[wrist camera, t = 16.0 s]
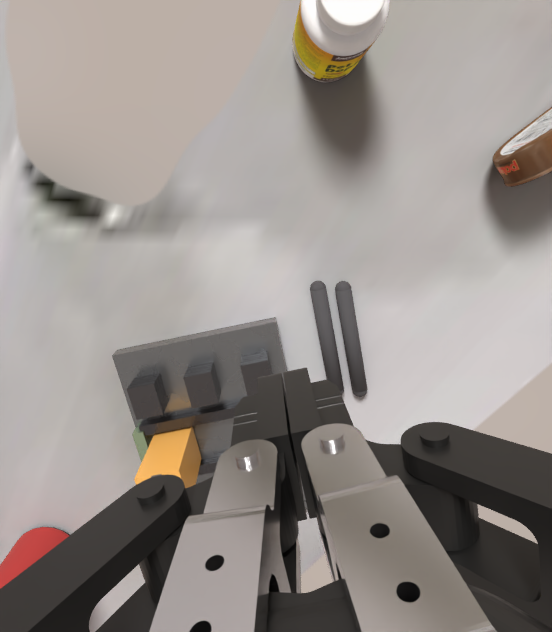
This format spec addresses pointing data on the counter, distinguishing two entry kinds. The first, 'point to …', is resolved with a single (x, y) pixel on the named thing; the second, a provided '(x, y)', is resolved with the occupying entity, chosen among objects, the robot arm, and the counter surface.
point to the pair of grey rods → (348, 334)
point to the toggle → (172, 456)
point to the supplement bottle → (336, 35)
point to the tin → (527, 152)
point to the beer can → (29, 551)
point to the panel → (198, 354)
